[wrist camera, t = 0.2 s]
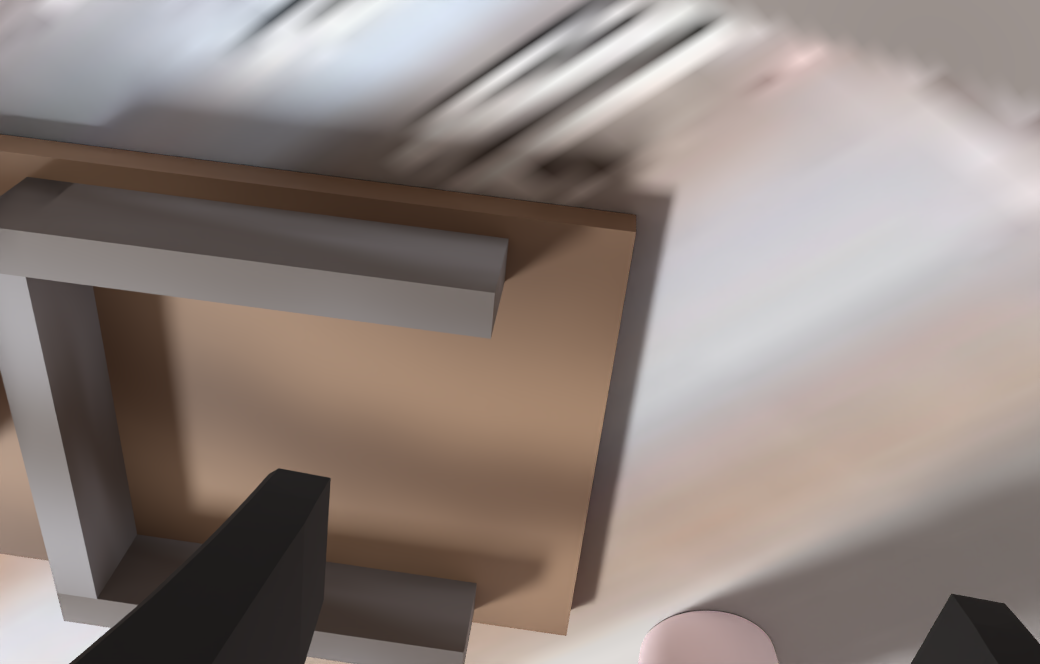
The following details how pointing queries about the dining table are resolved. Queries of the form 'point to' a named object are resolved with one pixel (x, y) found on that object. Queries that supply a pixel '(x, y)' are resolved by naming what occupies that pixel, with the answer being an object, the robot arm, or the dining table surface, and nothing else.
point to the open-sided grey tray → (303, 384)
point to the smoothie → (707, 641)
